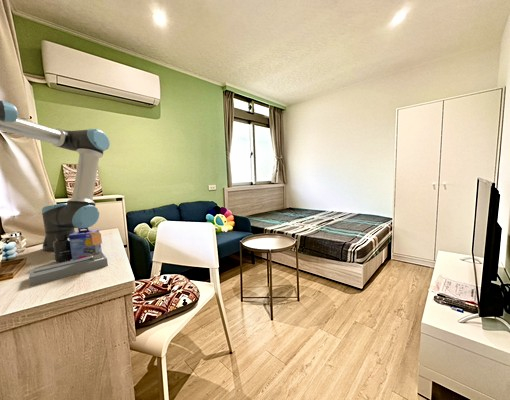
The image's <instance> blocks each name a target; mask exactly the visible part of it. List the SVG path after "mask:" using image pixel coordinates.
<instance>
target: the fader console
mask: <svg viewBox="0 0 510 400" xmlns="http://www.w3.org/2000/svg"><path fill="white" fill-rule="evenodd" d="M108 263H109V262H108V258H107V257H106V256H105V254H104V253H103V257H100V258H96V259H94V258H93V256H89V257H85V258H80V259H76V260H70V261H66V262H58V263H55V264H51V265H46V266H42V267H38V268H32V269H30V270H29V276H28V281H29V287H31V286H32V287H33V286H37V285H40V284H44V283H47V282H51V281H55V280H58V279H63V278H65V277H66V278H67V277H70V276H75V275H77V274H81V273H85V272H89V271H93V270H97V269H100V268H104V267H107V266H108Z"/></svg>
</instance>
